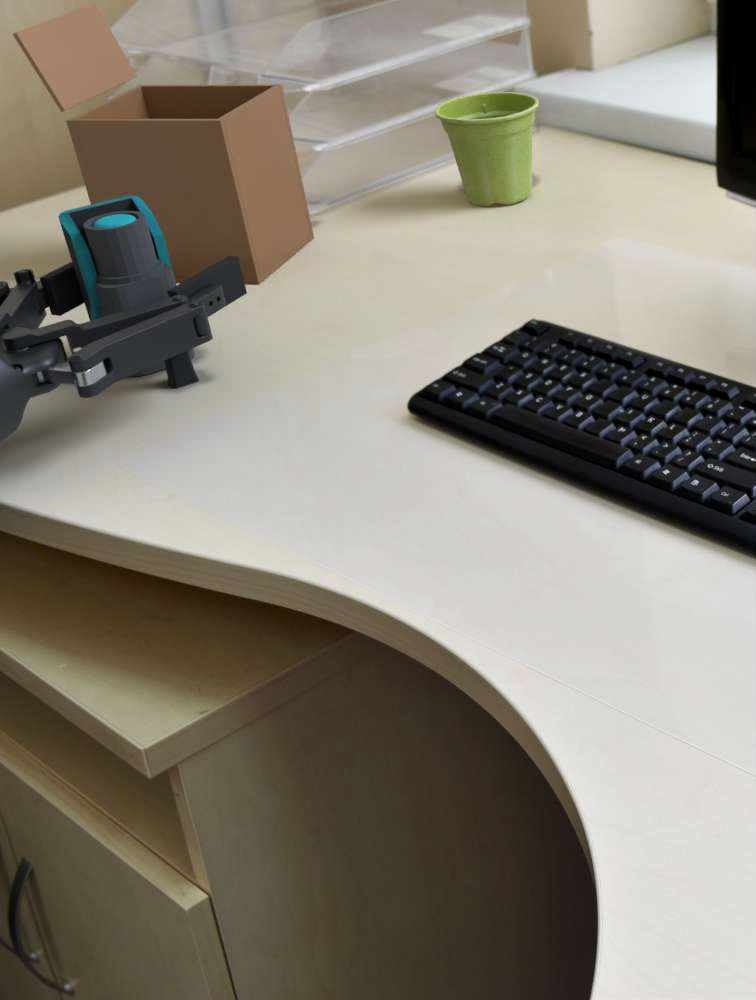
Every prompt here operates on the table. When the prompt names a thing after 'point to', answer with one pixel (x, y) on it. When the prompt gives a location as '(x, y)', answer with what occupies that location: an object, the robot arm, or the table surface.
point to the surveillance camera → (123, 266)
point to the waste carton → (202, 171)
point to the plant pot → (492, 144)
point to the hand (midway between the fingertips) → (176, 268)
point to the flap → (75, 56)
